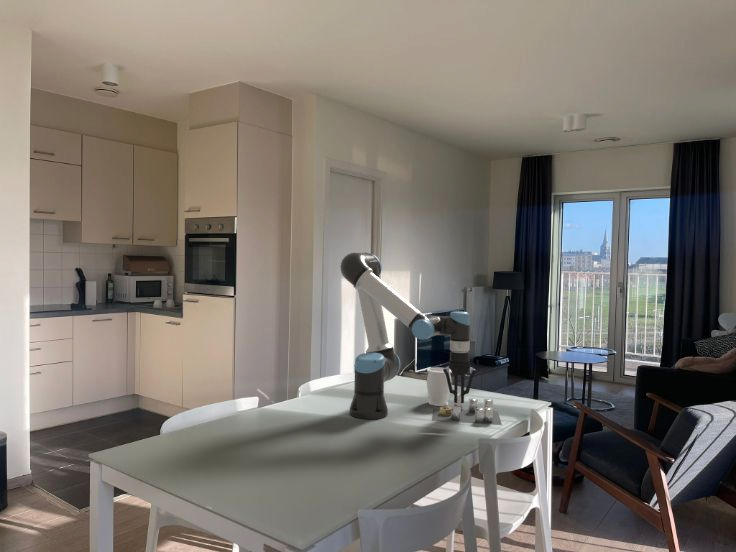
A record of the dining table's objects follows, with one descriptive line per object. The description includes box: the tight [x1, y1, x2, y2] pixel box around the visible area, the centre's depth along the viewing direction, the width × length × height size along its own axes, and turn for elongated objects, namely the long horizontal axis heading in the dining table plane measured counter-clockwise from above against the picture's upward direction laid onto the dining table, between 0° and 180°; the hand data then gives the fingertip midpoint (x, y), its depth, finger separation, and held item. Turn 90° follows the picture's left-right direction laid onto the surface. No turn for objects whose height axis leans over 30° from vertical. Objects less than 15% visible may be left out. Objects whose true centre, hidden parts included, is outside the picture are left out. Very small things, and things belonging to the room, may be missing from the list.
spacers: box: [450, 397, 494, 424], centre depth 223 cm, size 17×19×5 cm
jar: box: [426, 367, 453, 407], centre depth 242 cm, size 11×10×15 cm
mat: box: [431, 406, 503, 426], centre depth 224 cm, size 26×19×1 cm
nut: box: [439, 406, 451, 416], centre depth 225 cm, size 4×5×2 cm
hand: (458, 411), depth 224 cm, fingers closed
